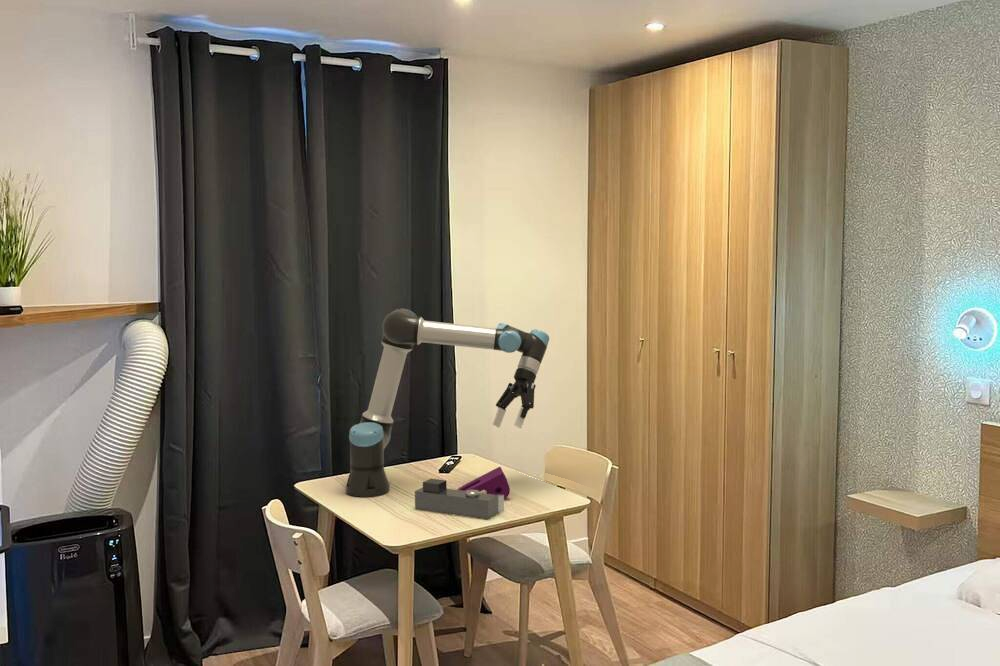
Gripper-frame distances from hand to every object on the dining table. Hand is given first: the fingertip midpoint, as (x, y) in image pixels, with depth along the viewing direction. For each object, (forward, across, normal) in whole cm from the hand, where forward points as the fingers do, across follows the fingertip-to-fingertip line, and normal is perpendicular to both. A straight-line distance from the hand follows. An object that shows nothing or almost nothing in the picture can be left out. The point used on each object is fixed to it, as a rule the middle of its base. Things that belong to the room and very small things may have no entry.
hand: (506, 426), depth 307 cm
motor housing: (+34, -7, +10) cm, 36 cm away
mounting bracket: (+26, 0, -1) cm, 27 cm away
